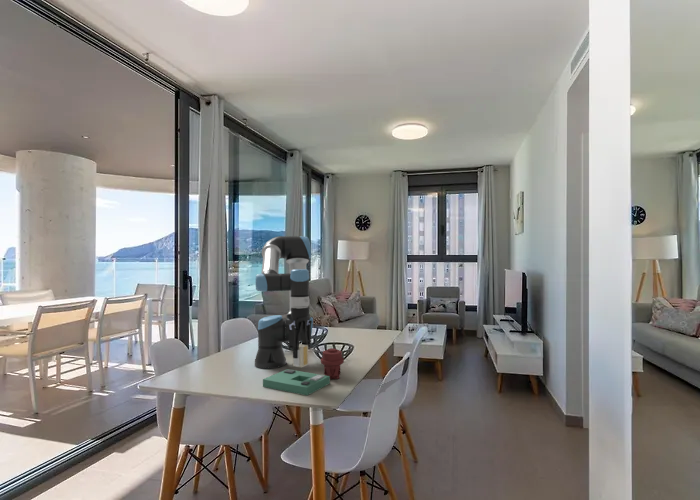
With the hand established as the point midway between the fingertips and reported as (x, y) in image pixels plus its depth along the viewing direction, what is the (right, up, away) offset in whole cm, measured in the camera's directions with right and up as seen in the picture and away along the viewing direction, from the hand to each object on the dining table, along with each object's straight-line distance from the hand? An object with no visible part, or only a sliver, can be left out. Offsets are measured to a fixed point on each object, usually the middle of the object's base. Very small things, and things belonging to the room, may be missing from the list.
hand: (300, 364), depth 162 cm
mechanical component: (+13, -9, +10) cm, 19 cm away
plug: (0, 0, 0) cm, 0 cm away
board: (-2, -9, +1) cm, 9 cm away
